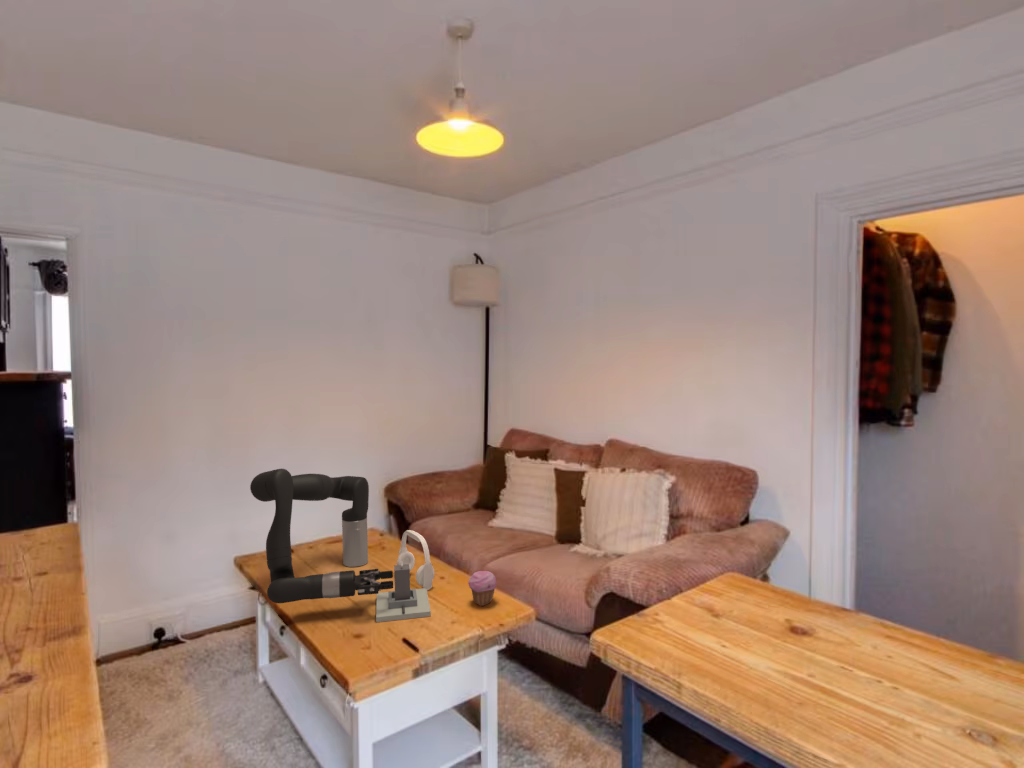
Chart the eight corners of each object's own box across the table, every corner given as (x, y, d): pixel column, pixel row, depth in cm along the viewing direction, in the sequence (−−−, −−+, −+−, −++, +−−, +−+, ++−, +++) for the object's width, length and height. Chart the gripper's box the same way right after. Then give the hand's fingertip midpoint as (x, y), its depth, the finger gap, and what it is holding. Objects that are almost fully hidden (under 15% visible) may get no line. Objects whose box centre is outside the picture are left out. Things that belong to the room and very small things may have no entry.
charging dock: (376, 597, 185) (376, 587, 185) (426, 592, 189) (426, 582, 189) (376, 622, 168) (375, 610, 168) (430, 616, 171) (430, 604, 171)
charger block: (394, 599, 180) (394, 561, 179) (409, 598, 181) (408, 559, 180) (395, 605, 176) (394, 566, 175) (410, 604, 177) (409, 564, 176)
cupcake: (464, 601, 181) (463, 570, 181) (486, 594, 187) (486, 564, 186) (479, 611, 174) (478, 579, 174) (502, 603, 179) (501, 572, 179)
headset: (438, 589, 191) (437, 537, 190) (418, 595, 187) (417, 541, 186) (411, 572, 207) (410, 523, 207) (393, 576, 203) (392, 527, 202)
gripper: (336, 581, 167) (393, 575, 170) (340, 564, 181) (392, 559, 184) (337, 606, 167) (393, 600, 171) (340, 587, 181) (392, 582, 184)
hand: (393, 579), depth 177 cm, fingers open, 8 cm apart
